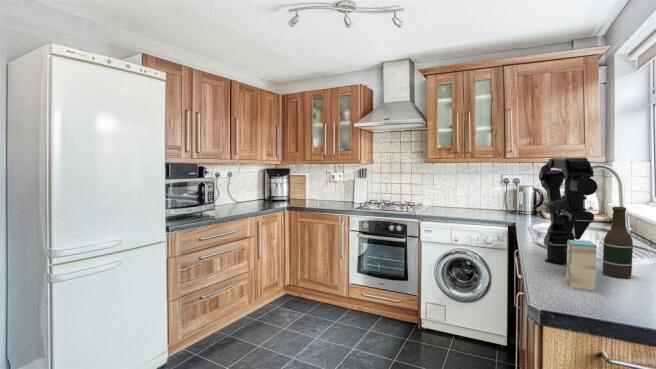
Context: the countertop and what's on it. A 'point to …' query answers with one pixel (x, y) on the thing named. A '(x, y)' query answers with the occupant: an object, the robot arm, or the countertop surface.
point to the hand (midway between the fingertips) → (572, 236)
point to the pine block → (581, 264)
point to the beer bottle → (618, 247)
